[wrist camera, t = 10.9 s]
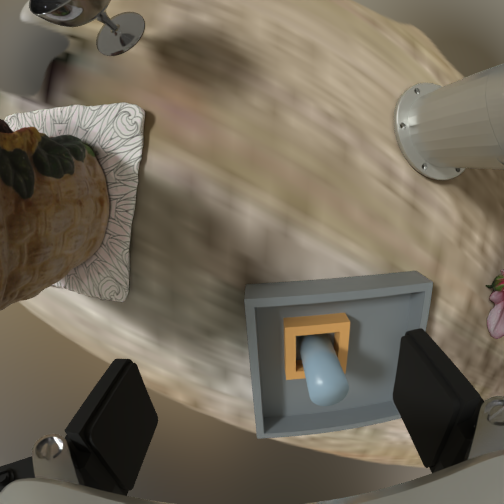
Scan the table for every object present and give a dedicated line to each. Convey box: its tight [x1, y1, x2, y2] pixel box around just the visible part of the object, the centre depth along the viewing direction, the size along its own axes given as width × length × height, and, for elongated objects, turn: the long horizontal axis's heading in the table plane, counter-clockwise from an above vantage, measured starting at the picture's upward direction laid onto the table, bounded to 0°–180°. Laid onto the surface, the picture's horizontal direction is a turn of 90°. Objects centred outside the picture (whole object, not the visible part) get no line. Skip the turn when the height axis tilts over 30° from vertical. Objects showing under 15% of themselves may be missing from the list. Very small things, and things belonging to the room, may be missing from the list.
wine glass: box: [29, 0, 145, 56], centre depth 21 cm, size 8×8×15 cm
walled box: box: [244, 271, 433, 438], centre depth 36 cm, size 22×22×4 cm
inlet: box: [283, 313, 350, 380], centre depth 35 cm, size 8×8×2 cm
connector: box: [298, 333, 349, 406], centre depth 31 cm, size 4×4×10 cm
